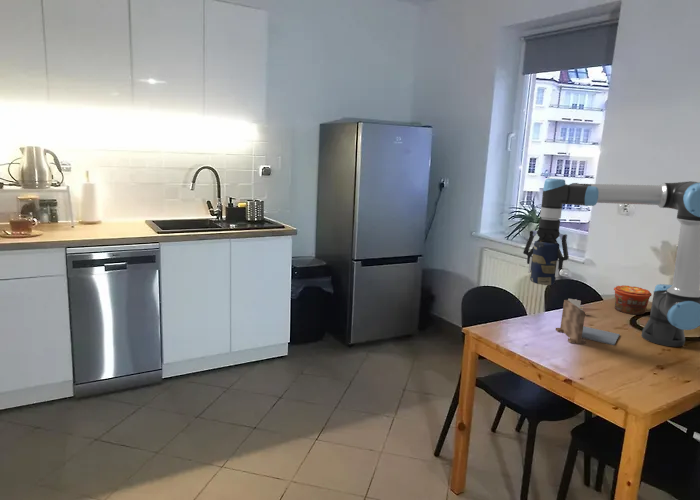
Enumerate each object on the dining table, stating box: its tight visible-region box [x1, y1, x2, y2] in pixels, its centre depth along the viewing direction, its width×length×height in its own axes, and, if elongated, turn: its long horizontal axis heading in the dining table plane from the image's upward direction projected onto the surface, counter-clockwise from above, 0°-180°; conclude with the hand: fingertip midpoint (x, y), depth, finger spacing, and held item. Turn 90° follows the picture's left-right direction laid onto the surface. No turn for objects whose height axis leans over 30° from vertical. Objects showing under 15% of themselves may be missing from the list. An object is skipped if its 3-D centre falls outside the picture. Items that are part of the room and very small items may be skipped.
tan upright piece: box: [555, 299, 587, 345], centre depth 205 cm, size 16×6×13 cm, turn 0°
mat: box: [582, 325, 620, 346], centre depth 208 cm, size 14×14×1 cm
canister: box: [529, 240, 560, 286], centre depth 201 cm, size 10×10×18 cm
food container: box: [613, 285, 653, 316], centre depth 245 cm, size 16×16×11 cm
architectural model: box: [567, 298, 584, 311], centre depth 236 cm, size 3×7×7 cm, turn 59°
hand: (543, 274), depth 202 cm, fingers closed on canister, 9 cm apart
